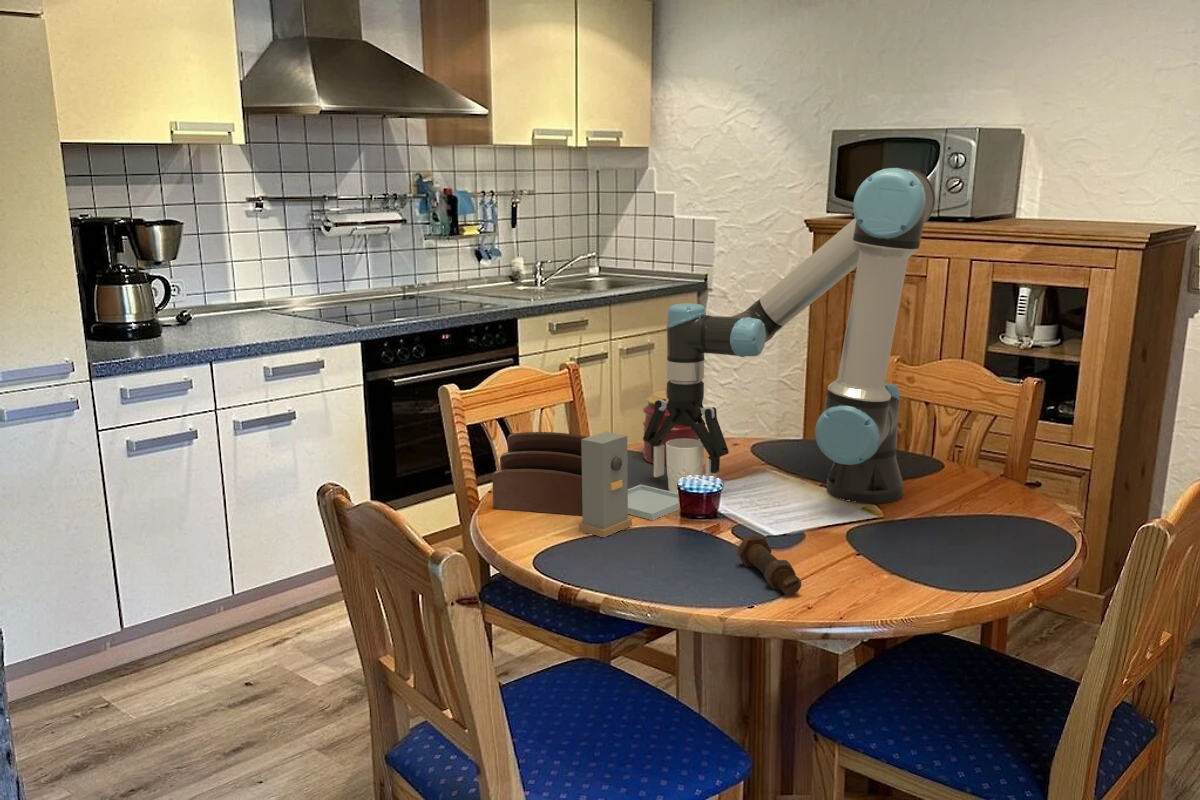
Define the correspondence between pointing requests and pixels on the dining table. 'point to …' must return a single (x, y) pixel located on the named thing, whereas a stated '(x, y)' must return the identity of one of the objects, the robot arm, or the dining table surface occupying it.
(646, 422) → the canister
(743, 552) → the bolt
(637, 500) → the tray
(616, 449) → the control box
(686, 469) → the white cup
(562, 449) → the letter holder
